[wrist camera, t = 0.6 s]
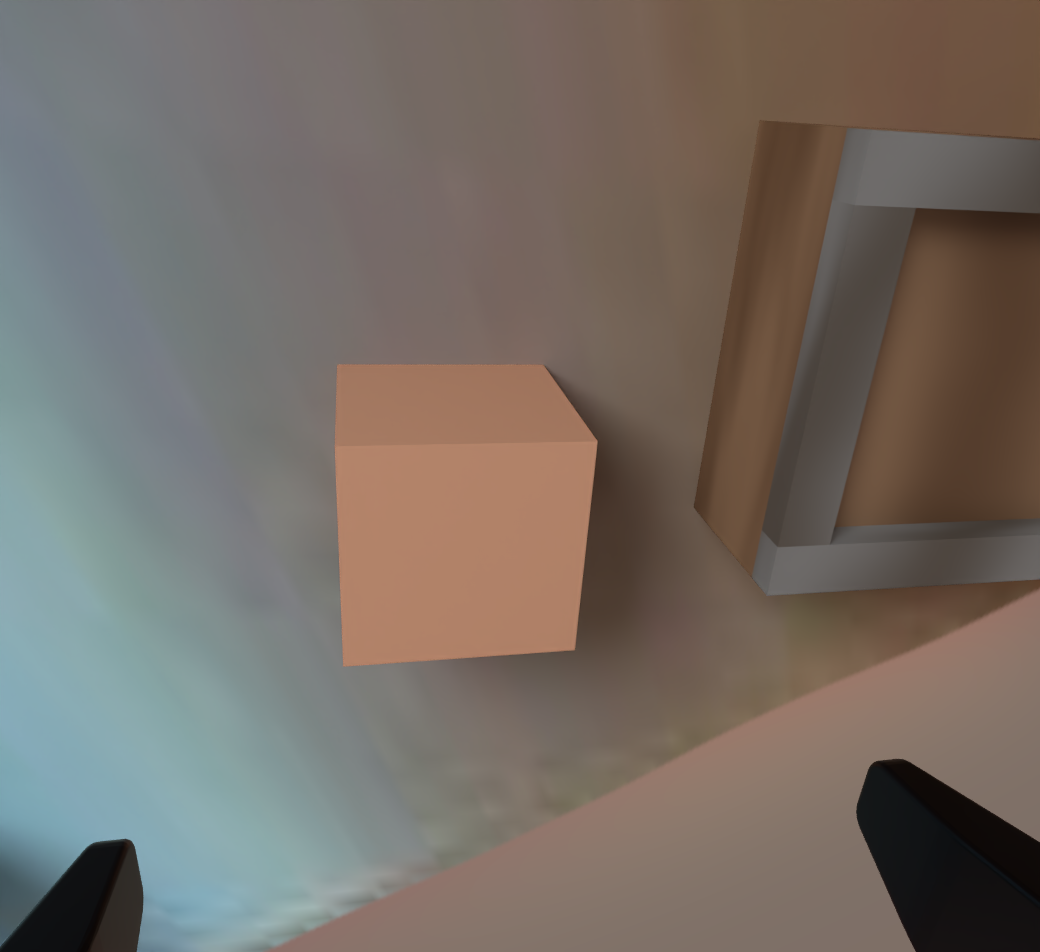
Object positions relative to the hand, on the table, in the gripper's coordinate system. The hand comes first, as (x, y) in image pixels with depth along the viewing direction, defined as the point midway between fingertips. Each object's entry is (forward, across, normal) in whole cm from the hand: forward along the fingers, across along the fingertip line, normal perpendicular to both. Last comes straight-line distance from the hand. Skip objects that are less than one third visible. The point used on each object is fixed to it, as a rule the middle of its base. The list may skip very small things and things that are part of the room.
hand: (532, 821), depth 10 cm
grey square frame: (+12, -12, -3) cm, 18 cm away
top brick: (+12, 0, +1) cm, 12 cm away
